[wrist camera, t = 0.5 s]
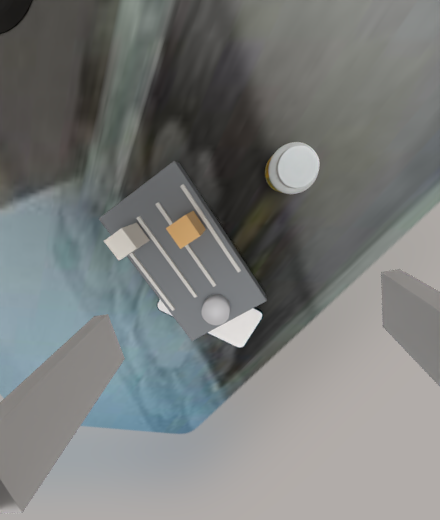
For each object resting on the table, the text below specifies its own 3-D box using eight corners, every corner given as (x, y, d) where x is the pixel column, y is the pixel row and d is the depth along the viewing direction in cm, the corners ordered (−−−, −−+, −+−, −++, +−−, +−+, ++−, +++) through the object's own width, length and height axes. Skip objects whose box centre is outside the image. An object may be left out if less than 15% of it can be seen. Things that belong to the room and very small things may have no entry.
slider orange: (175, 222, 34) (165, 228, 30) (193, 210, 33) (185, 214, 29) (188, 240, 35) (180, 249, 30) (205, 229, 34) (200, 235, 30)
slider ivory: (120, 234, 35) (103, 241, 31) (136, 222, 35) (121, 228, 30) (134, 251, 36) (118, 260, 32) (149, 240, 35) (136, 248, 31)
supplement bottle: (313, 161, 33) (339, 152, 24) (292, 199, 34) (309, 204, 25) (276, 142, 33) (288, 126, 23) (257, 182, 34) (261, 181, 25)
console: (107, 216, 38) (90, 220, 33) (178, 162, 34) (169, 159, 30) (194, 332, 42) (189, 348, 38) (265, 293, 39) (268, 307, 35)
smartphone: (265, 310, 40) (174, 266, 39) (265, 313, 39) (173, 268, 38) (241, 346, 43) (156, 306, 42) (241, 350, 42) (154, 308, 41)
